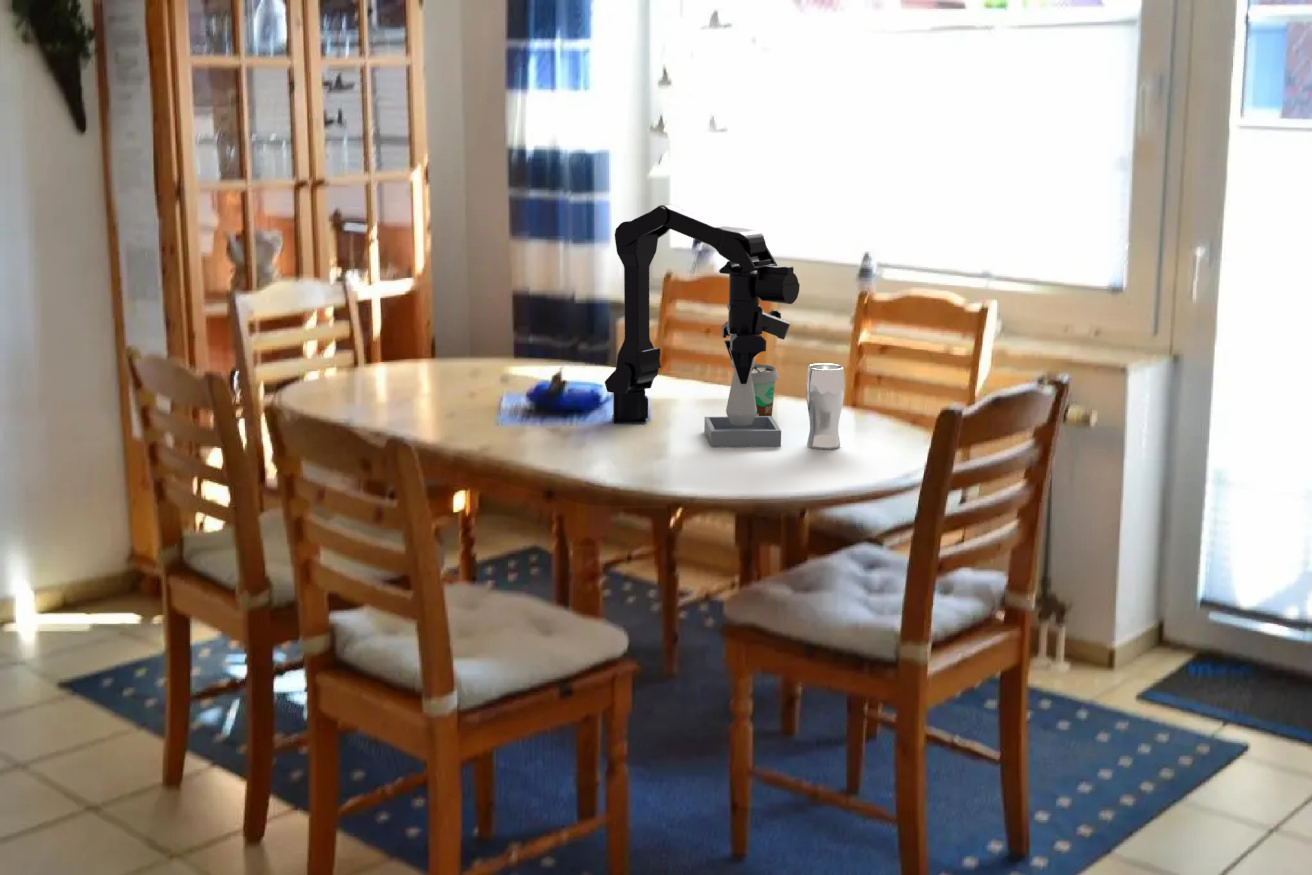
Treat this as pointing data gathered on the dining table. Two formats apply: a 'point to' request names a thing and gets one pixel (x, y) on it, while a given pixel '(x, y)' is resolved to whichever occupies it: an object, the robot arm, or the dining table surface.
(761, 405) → the food container
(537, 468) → the dining table surface
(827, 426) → the beer glass
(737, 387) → the salt shaker
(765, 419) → the bin
